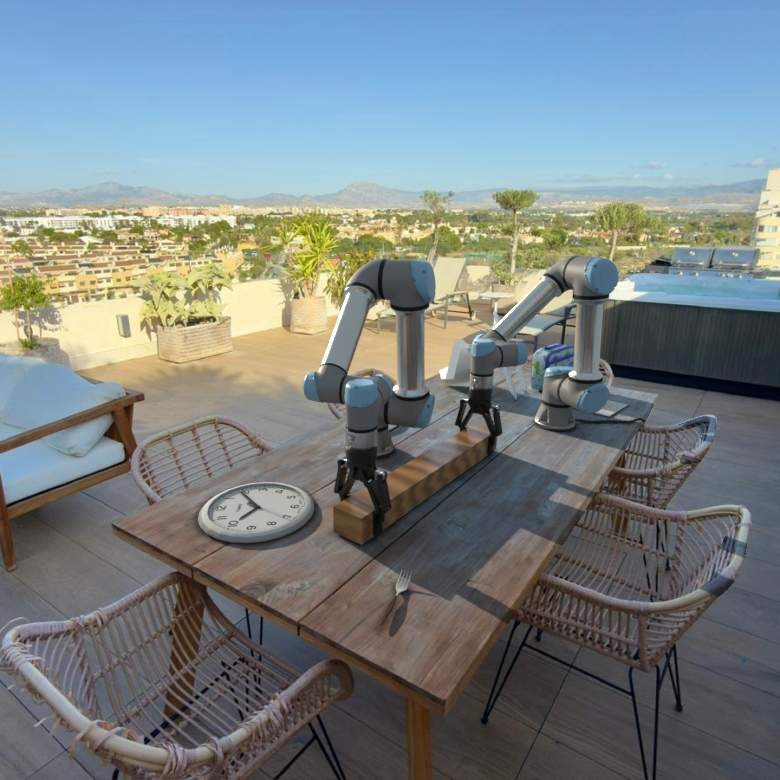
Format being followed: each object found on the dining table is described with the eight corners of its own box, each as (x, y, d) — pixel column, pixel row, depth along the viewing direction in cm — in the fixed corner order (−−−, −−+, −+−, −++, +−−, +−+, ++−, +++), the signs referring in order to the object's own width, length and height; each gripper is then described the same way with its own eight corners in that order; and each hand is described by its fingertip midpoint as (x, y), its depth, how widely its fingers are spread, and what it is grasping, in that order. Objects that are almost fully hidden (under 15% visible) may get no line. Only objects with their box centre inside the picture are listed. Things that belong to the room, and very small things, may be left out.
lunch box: (547, 395, 239) (552, 351, 233) (526, 390, 247) (530, 347, 240) (574, 384, 257) (579, 343, 251) (554, 380, 264) (558, 339, 258)
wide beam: (472, 442, 185) (473, 423, 182) (496, 449, 179) (497, 429, 177) (333, 532, 130) (332, 506, 127) (361, 545, 124) (361, 518, 122)
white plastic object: (461, 429, 252) (437, 405, 227) (444, 352, 274) (420, 323, 250) (535, 404, 240) (518, 377, 215) (510, 326, 262) (492, 293, 237)
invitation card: (608, 416, 214) (573, 407, 224) (608, 416, 214) (573, 408, 224) (628, 404, 229) (594, 396, 238) (628, 405, 229) (594, 397, 238)
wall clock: (310, 535, 126) (182, 539, 123) (311, 541, 126) (183, 545, 124) (317, 477, 154) (212, 480, 152) (317, 482, 155) (213, 485, 152)
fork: (373, 626, 100) (374, 617, 99) (401, 576, 114) (401, 568, 113) (386, 630, 99) (386, 621, 98) (412, 579, 113) (412, 571, 112)
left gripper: (317, 437, 128) (320, 518, 135) (388, 462, 115) (387, 549, 122) (338, 428, 133) (339, 506, 140) (408, 451, 121) (406, 535, 128)
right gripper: (446, 383, 174) (443, 445, 181) (507, 395, 162) (501, 462, 169) (457, 378, 180) (454, 438, 187) (517, 390, 167) (511, 454, 174)
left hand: (362, 526), depth 131 cm, fingers closed on wide beam, 9 cm apart
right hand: (476, 449), depth 178 cm, fingers closed on wide beam, 9 cm apart
